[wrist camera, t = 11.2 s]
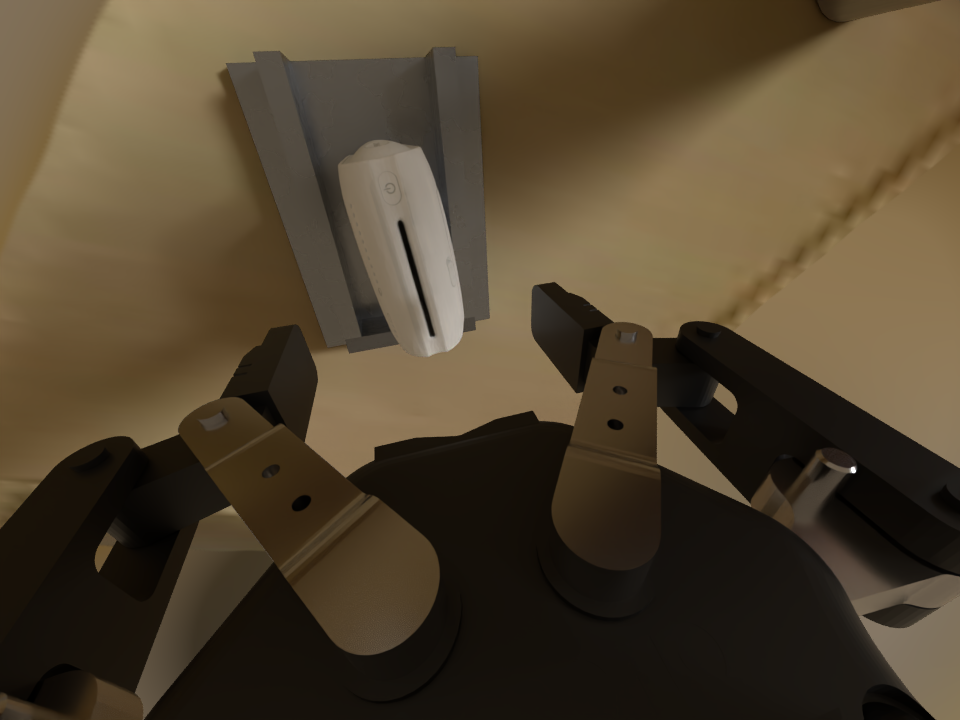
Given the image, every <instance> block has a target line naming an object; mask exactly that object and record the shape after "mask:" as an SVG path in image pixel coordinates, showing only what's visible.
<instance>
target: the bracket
mask: <svg viewBox="0 0 960 720" xmlns="http://www.w3.org/2000/svg"><path fill="white" fill-rule="evenodd" d="M253 54H254V57H255V61H256V62H252V63H226V65H227V68H228V71H229V74H230V77H231V79H232V82H233V85H234V88H235V90H236V93H237V96H238V99H239V102H240V104H241V107H242V110H243V113H244V116H245V118H246V121H247V124H248V127H249V130H250V132H251V135H252V138H253V141H254V144H255V146H256V149H257V152H258V155H259V157H260V160H261V163H262V166H263V169H264V171H265V174H266V177H267V180H268V183H269V185H270V188H271V191H272V194H273V197H274V199H275V202H276V205H277V208H278V211H279V213H280V216H281V219H282V222H283V224H284V227H285V230H286V233H287V236H288V238H289V241H290V244H291V247H292V250H293V252H294V255H295V258H296V261H297V264H298V266H299V269H300V272H301V275H302V278H303V280H304V283H305V286H306V289H307V292H308V294H309V297H310V300H311V303H312V305H313V308H314V311H315V314H316V317H317V319H318V322H319V325H320V328H321V331H322V333H323V336H324V339H325V342H326V345H327V347H334V346H339V345H345V344H346V345H347V348H348V351H349V353H354V352H360V351H365V350H370V349H376V348H381V347H387V346H392V345H397V344H399V343H398V342H397V340H396V339H395V337H394V335H393V334H392V332H391V330H390V328H389V325H388V323H387V321H386V319H385V316H384V314H383V312H382V309H381V307H380V304H379V302H378V299H377V297H376V294H375V292H374V289H373V286H372V284H371V281H370V278H369V276H368V273H367V270H366V267H365V265H364V262H363V259H362V256H361V253H360V251H359V248H358V245H357V242H356V239H355V236H354V233H353V229H352V226H351V223H350V220H349V217H348V214H347V210H346V207H345V204H344V200H343V196H342V191H341V186H340V180H339V173H338V164H339V163H340V162H341V161H342V160H343V159H344V158H345V157H347V156H348V155H354V154H355V152H356V151H357V150H358V149H359V148H360V147H361V146H362V145H364V144H365V143H367V142H369V141H373V140H388V141H393V142H397V143H400V144H406V145H412V146H419V147H421V149H422V151H423V153H424V155H425V157H426V159H427V161H428V164H429V166H430V169H431V171H432V174H433V177H434V179H435V183H436V187H437V189H438V191H439V194H440V198H441V201H442V205H443V209H444V212H445V216H446V220H447V225H448V229H449V233H450V237H451V242H452V246H453V251H454V256H455V261H456V266H457V271H458V276H459V282H460V288H461V294H462V302H463V309H464V325H463V332H468V331H473V330H476V327H475V321H478V320H484V319H489V318H490V315H489V293H488V272H487V250H486V228H485V206H484V184H483V163H482V141H481V119H480V97H479V76H478V56H457V57H456V52H455V47H433V48H432V49H431V50H430V52H429V53H428V54H427V55H426V57H423V58H389V59H355V60H320V61H290V60H288V59H287V58H286V57H285V56H284V55H283V54H282V53H281V52H280V51H264V52H253Z"/></svg>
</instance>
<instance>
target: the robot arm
mask: <svg viewBox="0 0 960 720" xmlns="http://www.w3.org/2000/svg"><path fill="white" fill-rule="evenodd" d="M935 1H940V0H817V2H818V4H819V6H820V9H821V11H822V12H823V14H824V15H825V16H826V17H827V18H828V19H830V20H833V21H835V22H847V21H852V20H856V19H860V18H865V17H869V16H873V15H878V14H882V13H886V12H891V11H895V10H900V9H904V8H909V7H914V6H918V5H922V4H927V3H931V2H935ZM531 328H532V334H533V337H534V339H535V341H536V342H537V343H538V345H539V346H540V347H541V349H542V350H543V351H544V352H545V354H546V355H547V356H548V358H549V359H550V360H551V361H552V363H553V364H554V365H555V367H556V368H557V369H558V370H559V372H560V373H561V374H562V376H563V377H564V378H565V379H566V381H567V382H568V383H569V385H570V386H571V387H572V388H573V390H574V391H575V392H576V393H580V392H583V395H582V399H581V403H580V406H579V410H578V414H577V418H576V421H575V425H574V426H571V425H567V424H563V423H557V422H548V421H539V420H538V419H537V417H536V415H535V414H534V412H533V411H529V412H525V413H520V414H516V415H512V416H508V417H503V418H499V419H495V420H493V421H491V422H489V423H487V424H484V425H482V426H480V427H478V428H476V429H473V430H471V431H469V432H467V433H465V434H462V435H459V436H448V437H422V438H413V439H408V440H404V441H400V442H395V443H391V444H387V445H382V446H378V447H375V460H374V461H372V462H370V463H368V464H366V465H364V466H362V467H361V468H359V469H358V470H356V471H355V472H353V473H352V474H350V475H349V476H348V477H347V478H345V477H344V476H343V475H342V474H341V473H339V472H338V471H337V470H336V469H335V468H334V467H332V466H331V465H330V464H329V463H328V462H327V461H325V460H324V459H323V458H322V457H321V456H320V455H318V454H317V453H316V452H315V451H314V450H312V449H311V448H310V447H309V446H308V445H307V444H305V443H304V442H305V438H306V433H307V429H308V424H309V419H310V415H311V410H312V406H313V401H314V397H315V392H316V387H317V383H318V376H317V370H316V366H315V363H314V361H313V359H312V356H311V354H310V351H309V349H308V346H307V344H306V341H305V339H304V336H303V334H302V332H301V329H300V328H299V326H298V325H296V324H295V325H289V326H283V327H277V328H271V329H270V330H269V332H268V334H267V336H266V338H265V340H264V342H263V343H262V345H261V346H256V347H255V348H253V349H252V350H251V351H250V352H249V353H247V354H246V355H245V356H244V357H243V359H242V361H241V362H240V364H239V366H238V367H239V368H237V369H236V371H235V373H234V377H232V378H231V380H230V382H229V383H228V385H227V387H226V389H225V390H224V392H223V394H222V396H221V397H220V399H218V400H215V401H212V402H209V403H207V404H205V405H203V406H201V407H199V408H197V409H196V410H194V411H193V412H191V413H190V414H189V415H187V416H186V417H185V418H184V419H183V421H182V422H181V423H180V425H179V428H178V433H179V435H176V436H174V437H171V438H169V439H166V440H163V441H161V442H158V443H156V444H153V445H150V446H148V447H145V448H142V449H141V448H140V447H139V446H138V445H137V444H136V443H135V442H134V441H133V439H131V438H130V437H126V436H117V437H111V438H107V439H103V440H100V441H98V442H95V443H93V444H90V445H88V446H86V447H84V448H82V449H80V450H78V451H76V452H74V453H73V454H71V455H70V456H68V457H67V458H65V459H64V460H63V461H61V462H60V463H59V464H58V465H57V466H55V467H54V468H53V469H52V471H51V472H50V473H49V474H48V475H47V476H46V477H45V479H44V480H43V481H42V482H41V483H40V484H39V485H38V487H37V488H36V489H35V490H34V491H33V492H32V493H31V495H30V496H29V497H28V498H27V499H26V500H25V501H24V503H23V504H22V505H21V506H20V507H19V508H18V509H17V511H16V512H15V513H14V514H13V515H12V516H11V517H10V519H9V520H8V521H7V522H6V523H5V524H4V525H3V527H2V528H1V529H0V720H143V704H142V702H141V699H140V698H139V696H138V695H137V694H135V691H136V688H137V685H138V683H139V680H140V677H141V675H142V672H143V670H144V667H145V664H146V661H147V659H148V656H149V654H150V651H151V648H152V646H153V643H154V640H155V638H156V635H157V632H158V630H159V627H160V624H161V622H162V619H163V616H164V614H165V611H166V608H167V606H168V603H169V601H170V598H171V595H172V593H173V590H174V587H175V585H176V582H177V579H178V577H179V574H180V571H181V569H182V566H183V563H184V561H185V558H186V555H187V553H188V550H189V547H190V545H191V542H192V539H193V537H194V534H195V532H196V529H197V526H198V523H199V520H201V519H203V518H205V517H207V516H210V515H212V514H214V513H216V512H218V511H220V510H222V509H224V508H226V507H228V506H230V505H232V507H233V508H234V509H235V511H236V512H237V513H238V515H239V516H240V517H241V519H242V520H243V521H244V523H245V524H246V525H247V527H248V528H249V529H250V531H251V532H252V533H253V535H254V536H255V537H256V539H257V540H258V541H259V543H260V544H261V545H262V547H263V548H264V549H265V551H266V552H267V553H268V555H269V556H270V557H271V558H272V560H273V561H274V562H273V563H272V564H271V566H270V567H269V568H268V569H267V570H266V572H265V573H264V574H263V575H262V576H261V578H260V579H259V580H258V581H257V583H256V584H255V585H254V586H253V587H252V588H251V590H250V591H249V592H248V594H247V595H246V596H245V597H244V598H243V599H242V601H241V602H240V603H239V604H238V605H237V607H236V608H235V609H234V610H233V612H232V613H231V614H230V615H229V616H228V617H227V619H226V620H225V621H224V622H223V624H222V625H221V626H220V627H219V628H218V630H217V631H216V632H215V633H214V634H213V636H212V637H211V638H210V640H208V642H207V643H206V644H205V645H204V647H203V648H202V649H201V650H200V652H198V654H197V655H196V656H195V657H194V659H193V660H192V661H191V662H190V663H189V665H188V666H187V667H186V668H185V669H184V671H183V672H182V673H181V674H180V675H179V677H178V678H177V679H176V680H175V681H174V683H173V684H172V685H171V686H170V688H169V689H168V690H167V691H166V692H165V694H164V695H163V696H162V697H161V698H160V700H159V701H158V702H157V703H156V705H155V706H154V707H153V708H152V710H151V711H150V712H149V714H148V715H147V716H146V717H145V719H144V720H935V719H934V718H933V717H932V716H931V715H930V714H929V713H928V712H927V711H926V710H925V709H924V708H923V707H922V706H921V704H919V702H918V701H917V700H916V699H915V698H914V697H913V696H912V694H911V693H910V692H909V690H908V689H907V688H906V686H905V685H904V684H903V683H902V681H901V680H900V679H899V677H898V676H897V675H896V673H895V672H894V671H893V669H892V668H891V667H890V665H889V664H888V662H887V661H886V660H885V658H884V657H883V655H882V654H881V652H880V651H879V650H878V648H877V646H876V645H875V644H874V642H873V641H872V639H871V637H870V635H869V634H868V632H867V630H866V629H865V627H864V625H863V624H862V622H861V620H860V618H859V617H858V616H861V615H862V616H864V617H866V618H868V619H870V620H872V621H874V622H876V623H879V624H881V625H885V626H888V627H893V628H905V627H909V626H911V625H913V624H914V623H916V622H918V621H919V620H921V619H923V618H924V617H926V616H927V615H929V614H931V613H932V612H934V611H936V610H937V609H939V608H940V607H942V606H944V605H945V604H947V603H948V602H950V601H952V600H953V599H955V598H957V597H958V596H960V468H958V467H956V466H955V465H953V464H952V463H950V462H948V461H947V460H945V459H943V458H942V457H940V456H938V455H937V454H935V453H933V452H932V451H930V450H928V449H927V448H925V447H923V446H922V445H920V444H918V443H917V442H915V441H913V440H912V439H910V438H909V437H907V436H905V435H903V434H902V433H900V432H899V431H897V430H895V429H894V428H892V427H890V426H889V425H887V424H885V423H884V422H882V421H880V420H879V419H877V418H875V417H873V416H872V415H870V414H869V413H867V412H865V411H864V410H862V409H861V408H859V407H857V406H855V405H854V404H852V403H851V402H849V401H847V400H845V399H844V398H842V397H841V396H839V395H837V394H836V393H834V392H832V391H831V390H829V389H827V388H826V387H824V386H822V385H821V384H819V383H817V382H816V381H814V380H813V379H811V378H809V377H807V376H806V375H804V374H802V373H801V372H799V371H798V370H796V369H794V368H792V367H791V366H789V365H787V364H786V363H784V362H783V361H781V360H779V359H778V358H776V357H774V356H773V355H771V354H769V353H768V352H766V351H765V350H763V349H761V348H760V347H758V346H756V345H755V344H753V343H751V342H750V341H748V340H746V339H745V338H743V337H741V336H740V335H738V334H736V333H735V332H733V331H731V330H730V329H728V328H726V327H724V326H721V325H718V324H715V323H710V322H703V321H693V322H688V323H685V324H683V325H682V326H681V327H680V330H679V334H678V337H677V338H653V335H652V333H651V332H650V331H649V330H648V329H647V328H645V327H643V326H640V325H637V324H634V323H628V322H615V323H614V322H613V321H612V320H610V319H609V318H608V317H606V316H605V315H604V314H603V313H601V312H600V311H599V310H597V309H596V308H595V307H594V306H593V305H590V303H589V302H588V301H586V300H585V299H584V298H582V297H580V296H577V295H575V294H572V293H568V292H566V291H565V290H564V289H563V288H562V287H560V286H559V285H558V284H557V283H555V282H552V283H546V284H540V285H535V286H534V287H533V289H532V313H531ZM718 383H720V384H722V385H723V386H724V387H725V388H727V389H728V390H729V391H730V392H732V394H733V395H734V396H735V398H736V401H737V404H738V408H737V412H736V414H735V415H734V414H733V413H732V412H730V411H729V410H728V409H727V408H726V407H724V406H723V405H722V404H721V403H720V402H719V401H717V400H716V399H715V398H714V397H713V395H714V393H715V390H716V388H717V386H718ZM657 407H660V408H661V409H662V410H663V411H664V412H665V413H666V414H667V415H668V416H669V417H670V418H671V420H673V422H674V423H675V424H676V425H677V426H678V427H679V428H680V429H681V430H682V431H683V432H684V433H685V434H686V436H687V437H688V438H689V439H690V440H691V441H692V442H693V443H694V444H695V445H696V446H697V447H698V448H699V449H700V450H701V452H702V453H704V455H705V456H706V457H707V458H708V459H709V460H710V461H711V462H712V463H713V464H714V465H715V466H716V467H717V469H719V471H720V472H721V473H722V474H723V475H724V476H725V477H726V478H727V479H728V480H729V481H730V482H731V483H732V485H733V486H734V487H735V488H736V489H737V490H738V491H739V492H740V493H741V494H742V495H743V496H744V497H745V498H746V499H747V500H748V501H749V503H750V504H751V507H749V506H747V505H745V504H743V503H741V502H739V501H736V500H734V499H732V498H730V497H728V496H726V495H723V494H721V493H719V492H717V491H714V490H712V489H710V488H708V487H706V486H704V485H701V484H699V483H697V482H695V481H693V480H691V479H688V478H686V477H684V476H682V475H680V474H678V473H675V472H673V471H671V470H669V469H667V468H665V467H663V466H660V465H658V464H657ZM106 532H107V533H109V534H110V535H111V536H112V537H114V538H115V539H116V540H117V541H116V543H115V545H114V546H113V548H112V550H111V552H110V554H109V555H108V557H107V559H106V561H105V563H104V564H103V566H102V568H101V570H100V571H99V573H98V572H97V569H96V567H95V561H94V560H95V553H96V550H97V548H98V546H99V544H100V542H101V541H102V539H103V537H104V536H105V534H106Z"/></svg>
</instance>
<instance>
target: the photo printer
mask: <svg viewBox="0 0 960 720" xmlns="http://www.w3.org/2000/svg"><path fill="white" fill-rule="evenodd" d="M338 173H339V180H340V186H341V191H342V196H343V200H344V204H345V207H346V210H347V214H348V217H349V220H350V223H351V226H352V229H353V233H354V236H355V239H356V242H357V245H358V248H359V251H360V253H361V256H362V259H363V262H364V265H365V267H366V270H367V273H368V276H369V278H370V281H371V284H372V286H373V289H374V292H375V294H376V297H377V299H378V302H379V304H380V307H381V309H382V312H383V314H384V316H385V319H386V321H387V323H388V325H389V328H390V330H391V332H392V334H393V335H394V337H395V339H396V340H397V342H398V343H399V344H400V346H401V347H402V348H403V350H404V351H406V352H407V353H408V354H410V355H413V356H417V357H429V356H431V355H433V354H436V353H439V352H447V351H449V350H451V349H452V348H454V347H455V346H456V345H457V344H458V343H459V341H460V340H461V338H462V334H463V325H464V309H463V302H462V294H461V288H460V282H459V276H458V271H457V266H456V261H455V256H454V251H453V246H452V242H451V237H450V233H449V229H448V225H447V220H446V216H445V212H444V209H443V205H442V201H441V198H440V194H439V191H438V189H437V187H436V183H435V179H434V177H433V174H432V171H431V169H430V166H429V164H428V161H427V159H426V157H425V155H424V153H423V151H422V149H421V147H419V146H412V145H406V144H400V143H397V142H393V141H388V140H373V141H369V142H367V143H365V144H364V145H362V146H361V147H360V148H359V149H358V150H357V151H356V152H355V154H354V155H348V156H347V157H345V158H344V159H343V160H342V161H341V162H340V163H339V164H338Z"/></svg>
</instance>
